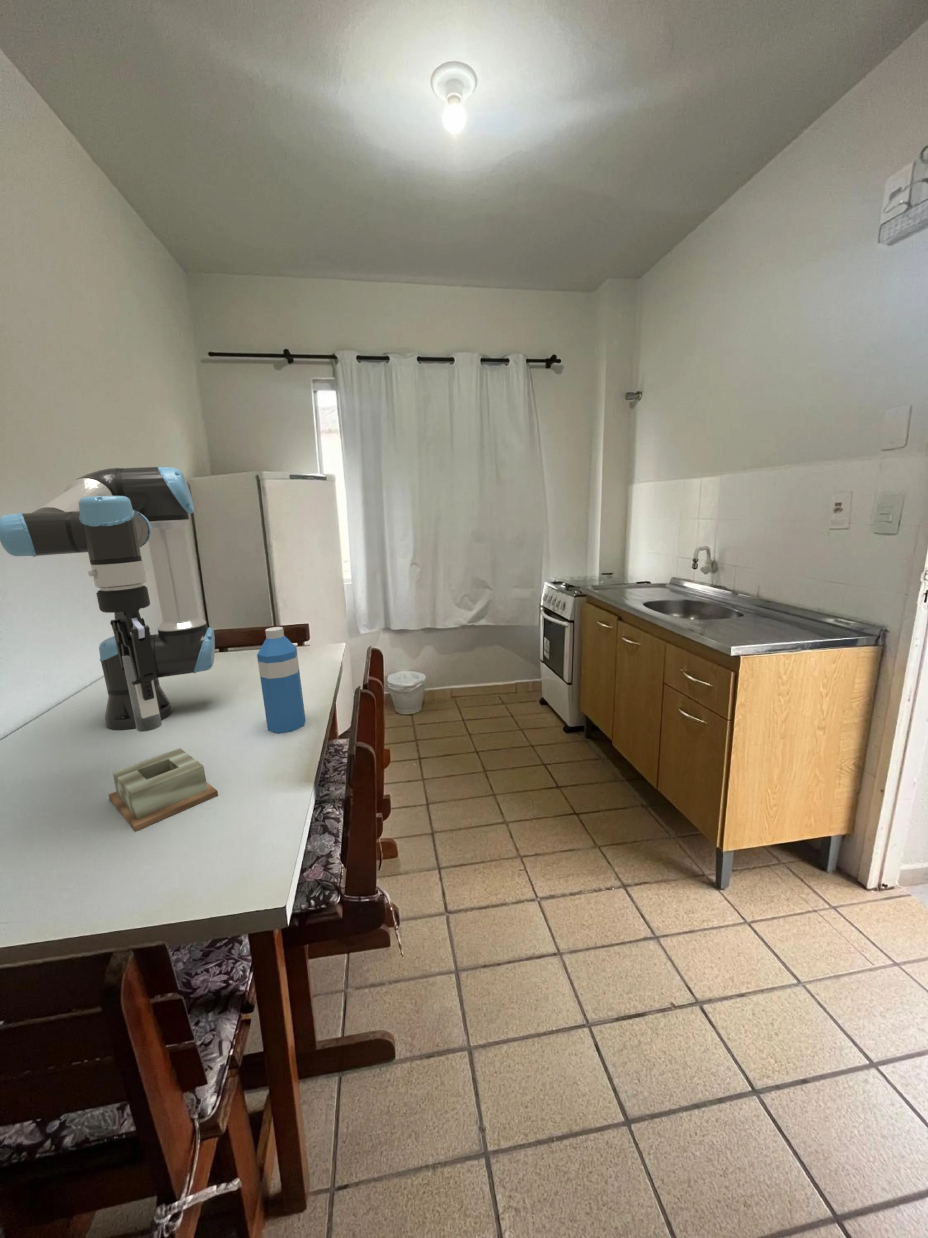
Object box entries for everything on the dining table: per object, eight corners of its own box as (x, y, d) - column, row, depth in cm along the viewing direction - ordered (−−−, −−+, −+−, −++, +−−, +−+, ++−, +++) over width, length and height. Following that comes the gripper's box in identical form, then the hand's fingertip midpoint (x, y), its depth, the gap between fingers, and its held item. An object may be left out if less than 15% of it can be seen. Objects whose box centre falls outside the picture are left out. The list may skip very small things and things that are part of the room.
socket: (109, 799, 99) (103, 770, 97) (186, 769, 109) (181, 743, 107) (135, 831, 88) (128, 800, 87) (218, 795, 98) (213, 766, 97)
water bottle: (294, 734, 123) (281, 634, 117) (259, 732, 125) (245, 633, 119) (313, 718, 132) (301, 624, 126) (280, 717, 134) (267, 624, 128)
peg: (133, 728, 95) (118, 655, 92) (157, 720, 97) (143, 650, 94) (140, 733, 92) (125, 658, 89) (164, 725, 95) (151, 653, 92)
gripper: (83, 587, 92) (109, 708, 97) (110, 593, 81) (138, 731, 86) (131, 581, 97) (153, 696, 102) (162, 586, 86) (185, 716, 91)
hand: (146, 712), depth 94 cm, fingers closed on peg, 4 cm apart
